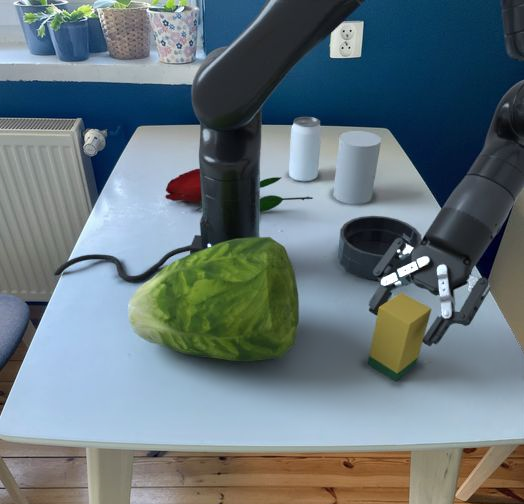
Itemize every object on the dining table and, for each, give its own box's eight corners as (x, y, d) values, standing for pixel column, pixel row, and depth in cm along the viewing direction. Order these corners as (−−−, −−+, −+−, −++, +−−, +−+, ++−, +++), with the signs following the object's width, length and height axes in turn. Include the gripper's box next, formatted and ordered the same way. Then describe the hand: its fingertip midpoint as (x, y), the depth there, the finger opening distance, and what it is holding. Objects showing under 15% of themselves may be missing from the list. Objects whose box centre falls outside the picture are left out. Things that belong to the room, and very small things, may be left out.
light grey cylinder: (379, 200, 113) (389, 143, 105) (344, 206, 110) (352, 148, 102) (359, 184, 118) (367, 128, 110) (326, 190, 116) (332, 133, 108)
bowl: (336, 279, 91) (339, 253, 88) (337, 237, 101) (340, 213, 98) (419, 285, 90) (426, 259, 86) (412, 243, 100) (417, 218, 97)
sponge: (388, 348, 78) (401, 292, 71) (416, 365, 75) (432, 308, 69) (367, 363, 75) (378, 306, 69) (395, 381, 73) (410, 324, 66)
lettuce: (156, 368, 83) (147, 262, 83) (307, 354, 80) (298, 244, 80) (111, 374, 67) (99, 243, 67) (299, 358, 63) (286, 219, 63)
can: (315, 183, 118) (320, 128, 110) (286, 180, 119) (289, 125, 111) (319, 171, 123) (324, 117, 115) (291, 168, 124) (294, 114, 116)
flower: (314, 157, 100) (162, 156, 106) (308, 200, 97) (152, 195, 103) (317, 188, 109) (176, 185, 114) (312, 228, 105) (167, 223, 111)
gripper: (414, 189, 70) (346, 296, 71) (517, 230, 62) (438, 349, 64) (428, 213, 76) (365, 311, 78) (523, 253, 68) (451, 361, 70)
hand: (398, 328), depth 71 cm, fingers open, 8 cm apart
